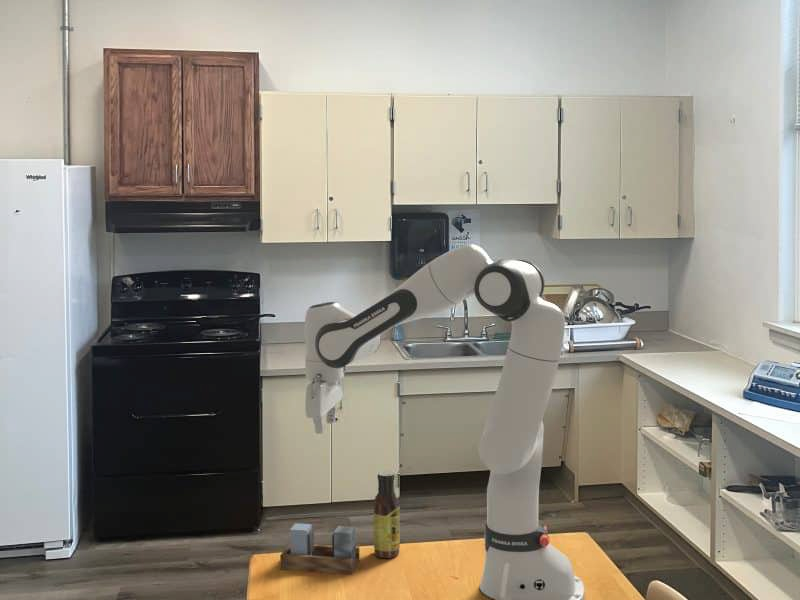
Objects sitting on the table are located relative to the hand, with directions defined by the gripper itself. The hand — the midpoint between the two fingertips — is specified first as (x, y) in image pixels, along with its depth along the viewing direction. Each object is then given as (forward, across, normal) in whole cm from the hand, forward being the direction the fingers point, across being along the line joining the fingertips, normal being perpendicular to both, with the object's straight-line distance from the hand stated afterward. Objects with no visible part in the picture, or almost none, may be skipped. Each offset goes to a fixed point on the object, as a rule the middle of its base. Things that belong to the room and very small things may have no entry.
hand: (325, 427), depth 208 cm
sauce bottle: (+31, +2, -14) cm, 34 cm away
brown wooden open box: (+31, -7, 0) cm, 32 cm away
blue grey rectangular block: (+30, -7, +4) cm, 31 cm away
